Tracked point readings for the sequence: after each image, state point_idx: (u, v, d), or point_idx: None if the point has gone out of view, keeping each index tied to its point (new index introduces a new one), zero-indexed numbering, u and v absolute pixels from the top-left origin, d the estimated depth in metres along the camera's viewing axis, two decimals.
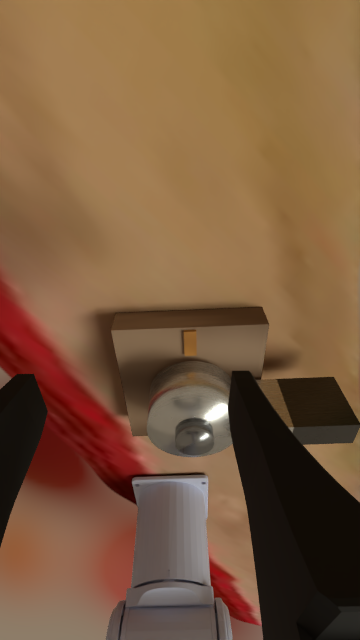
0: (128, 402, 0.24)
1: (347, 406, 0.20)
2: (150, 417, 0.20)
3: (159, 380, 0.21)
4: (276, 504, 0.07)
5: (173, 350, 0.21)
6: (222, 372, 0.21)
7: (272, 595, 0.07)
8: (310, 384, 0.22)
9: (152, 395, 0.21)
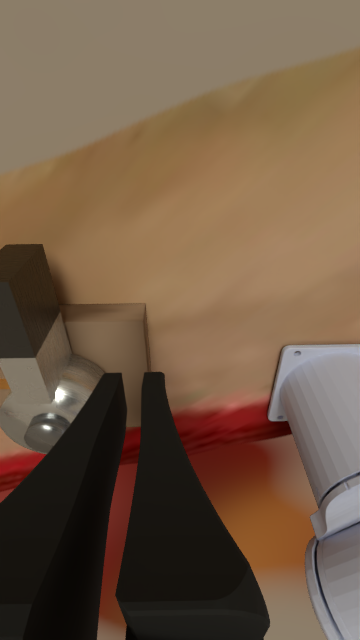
0: None
1: None
2: (40, 451, 0.20)
3: None
4: (133, 507, 0.07)
5: None
6: None
7: None
8: None
9: None
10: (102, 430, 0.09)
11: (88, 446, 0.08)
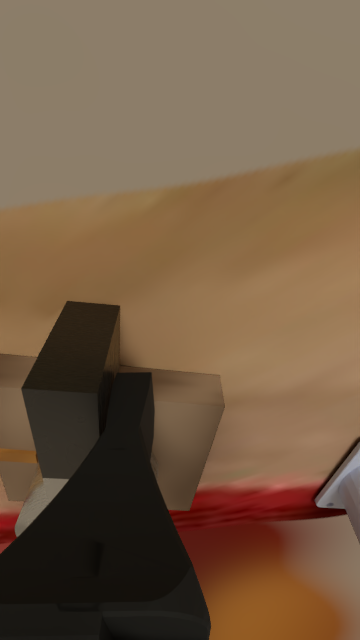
0: None
1: None
2: None
3: None
4: (88, 507, 0.07)
5: (33, 467, 0.17)
6: None
7: None
8: None
9: None
10: None
11: (129, 445, 0.08)
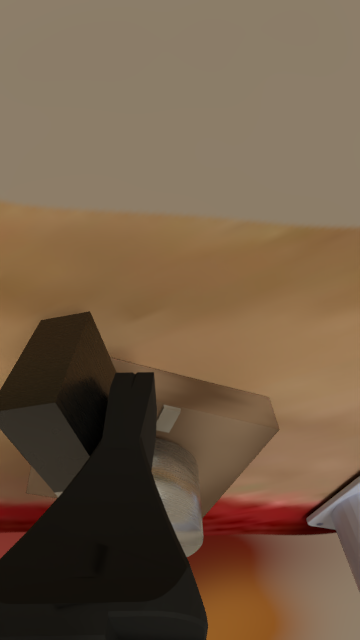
0: None
1: None
2: None
3: None
4: (86, 507, 0.07)
5: None
6: None
7: None
8: None
9: None
10: (143, 429, 0.09)
11: (133, 445, 0.08)
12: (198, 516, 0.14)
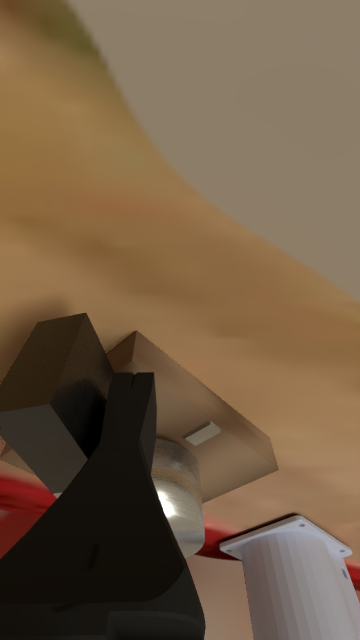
0: None
1: None
2: None
3: None
4: (84, 508, 0.07)
5: None
6: None
7: None
8: None
9: None
10: (143, 429, 0.09)
11: (133, 445, 0.08)
12: (199, 516, 0.14)
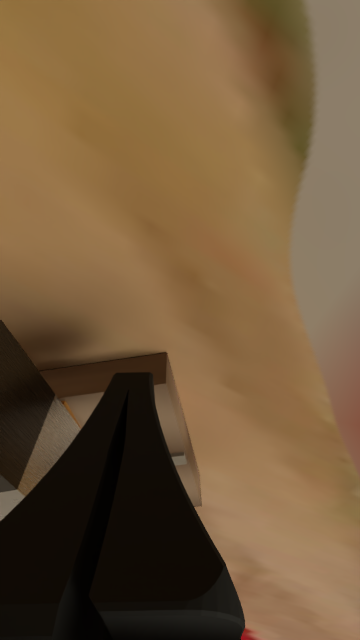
0: None
1: None
2: None
3: None
4: (114, 507, 0.07)
5: None
6: None
7: None
8: None
9: None
10: (116, 430, 0.09)
11: (104, 446, 0.08)
12: None
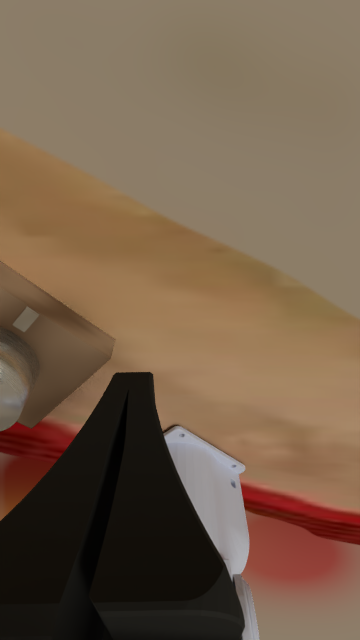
0: None
1: None
2: (1, 429, 0.19)
3: None
4: (114, 507, 0.07)
5: None
6: None
7: None
8: None
9: None
10: (116, 430, 0.09)
11: (104, 446, 0.08)
12: None
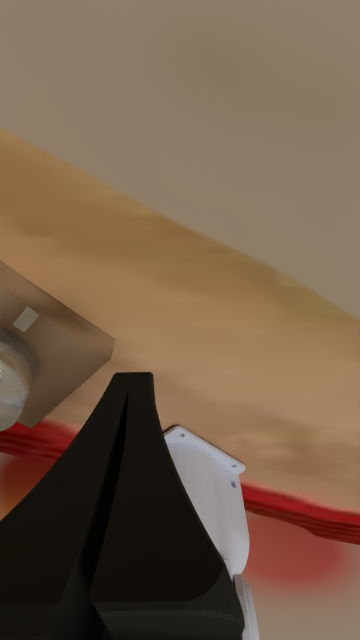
0: None
1: None
2: (1, 429, 0.19)
3: None
4: (114, 507, 0.07)
5: None
6: None
7: None
8: None
9: None
10: (116, 430, 0.09)
11: (104, 446, 0.08)
12: None
